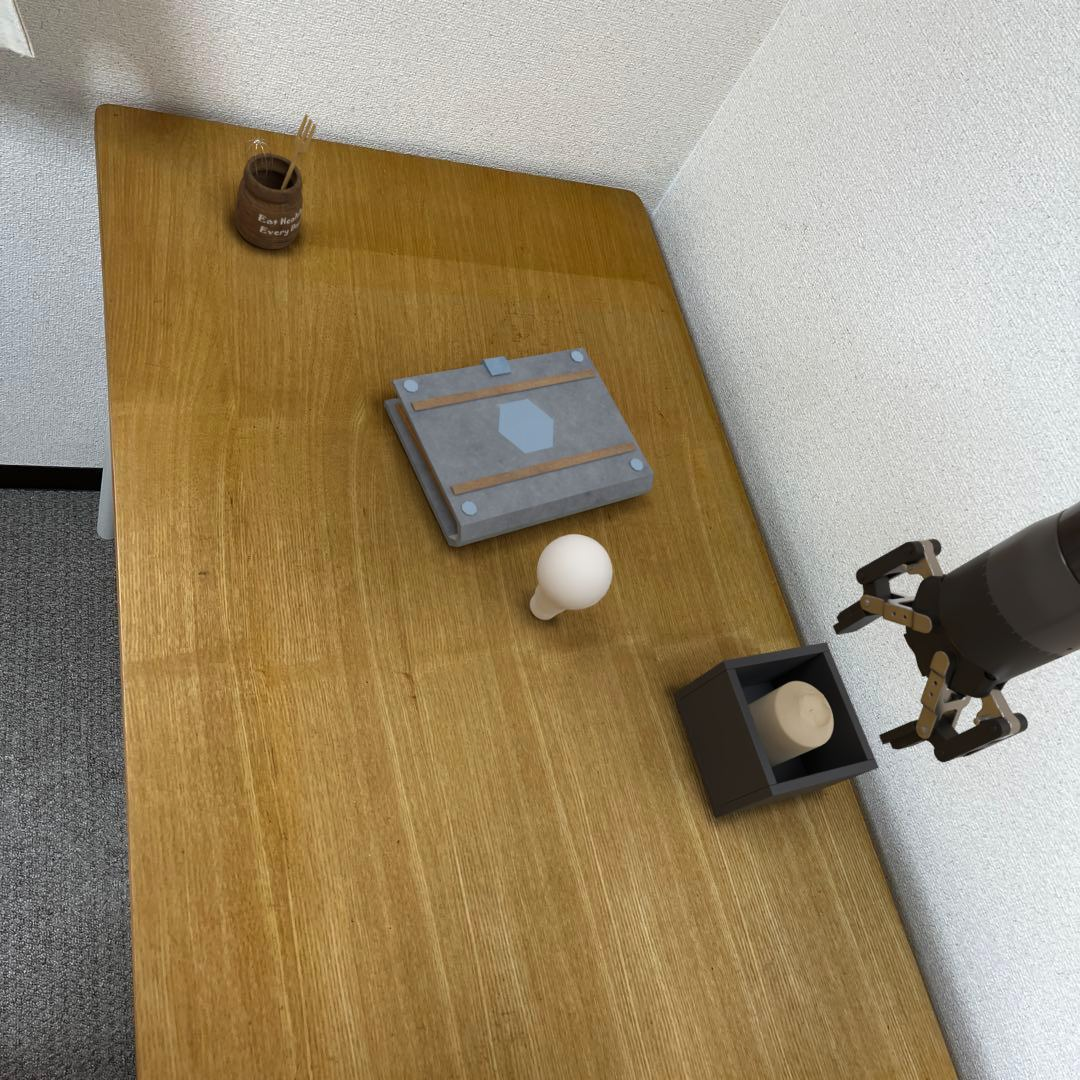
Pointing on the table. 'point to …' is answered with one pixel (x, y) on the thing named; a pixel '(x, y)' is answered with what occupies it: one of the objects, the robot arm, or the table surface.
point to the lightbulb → (570, 576)
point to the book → (516, 443)
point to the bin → (734, 742)
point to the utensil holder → (272, 195)
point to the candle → (792, 721)
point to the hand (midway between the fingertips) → (865, 682)
